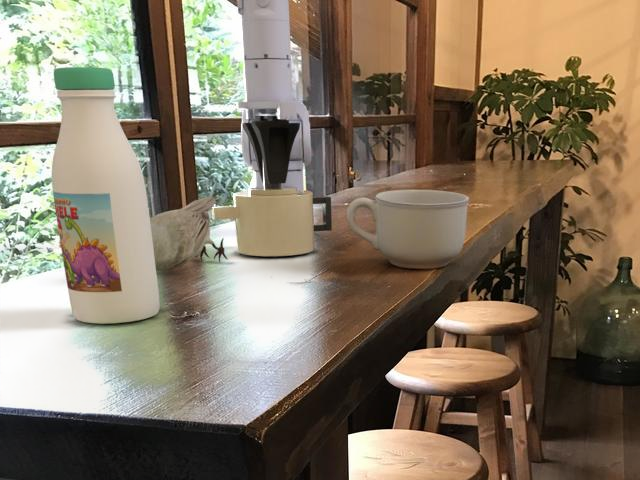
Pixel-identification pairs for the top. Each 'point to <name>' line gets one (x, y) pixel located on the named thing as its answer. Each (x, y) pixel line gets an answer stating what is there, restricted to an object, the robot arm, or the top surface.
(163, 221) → the decorative bird
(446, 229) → the teacup
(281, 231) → the kettle
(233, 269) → the top surface
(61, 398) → the top surface
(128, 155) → the milk bottle
